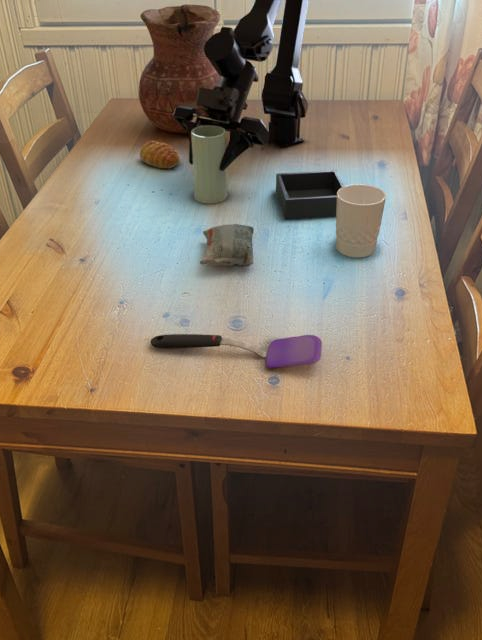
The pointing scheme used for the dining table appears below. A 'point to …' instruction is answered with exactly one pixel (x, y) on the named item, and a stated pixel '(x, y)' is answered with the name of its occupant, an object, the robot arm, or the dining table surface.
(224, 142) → the tumbler
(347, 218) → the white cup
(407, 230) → the dining table surface
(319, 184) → the tub
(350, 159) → the dining table surface
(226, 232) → the packaged food
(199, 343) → the spatula
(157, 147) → the pastry
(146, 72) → the jug
